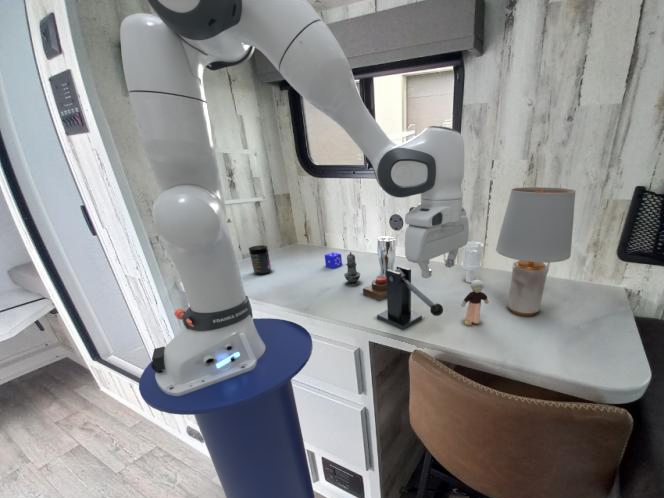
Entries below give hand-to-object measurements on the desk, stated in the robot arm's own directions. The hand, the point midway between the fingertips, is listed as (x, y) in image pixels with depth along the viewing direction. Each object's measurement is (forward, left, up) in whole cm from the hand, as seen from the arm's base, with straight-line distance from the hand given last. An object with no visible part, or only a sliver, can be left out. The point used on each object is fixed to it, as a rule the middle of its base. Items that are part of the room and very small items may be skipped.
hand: (438, 271), depth 73 cm
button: (+10, +30, -13) cm, 34 cm away
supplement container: (-7, +81, -17) cm, 83 cm away
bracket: (0, +13, -17) cm, 21 cm away
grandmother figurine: (+12, -4, -17) cm, 21 cm away
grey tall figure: (+9, +44, -17) cm, 48 cm away
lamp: (+28, -11, -17) cm, 35 cm away
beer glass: (+22, +39, -17) cm, 48 cm away
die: (+17, +66, -17) cm, 70 cm away
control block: (+10, +30, -17) cm, 36 cm away
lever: (0, +7, -9) cm, 11 cm away
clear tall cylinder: (+39, +13, -17) cm, 44 cm away
